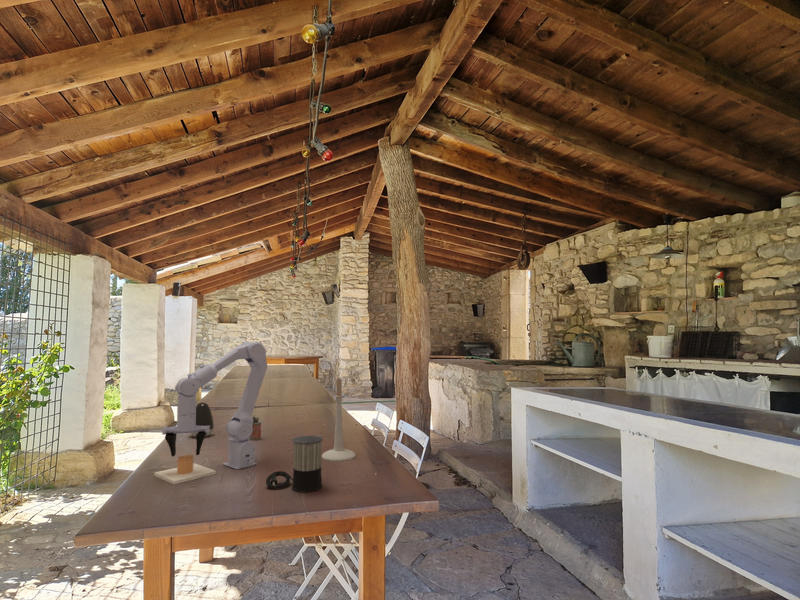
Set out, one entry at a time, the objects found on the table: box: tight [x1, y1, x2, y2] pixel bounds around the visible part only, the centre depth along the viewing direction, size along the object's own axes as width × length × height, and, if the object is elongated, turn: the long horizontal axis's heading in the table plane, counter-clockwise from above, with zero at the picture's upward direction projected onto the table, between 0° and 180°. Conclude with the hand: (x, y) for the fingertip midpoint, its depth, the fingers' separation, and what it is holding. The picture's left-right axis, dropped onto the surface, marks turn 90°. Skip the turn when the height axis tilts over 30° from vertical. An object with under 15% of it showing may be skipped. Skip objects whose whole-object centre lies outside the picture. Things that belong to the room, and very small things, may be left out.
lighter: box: [249, 415, 262, 441], centre depth 209 cm, size 8×3×10 cm, turn 84°
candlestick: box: [322, 377, 357, 462], centre depth 182 cm, size 13×13×30 cm
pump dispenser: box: [190, 402, 215, 438], centre depth 216 cm, size 10×10×15 cm
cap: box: [176, 454, 195, 474], centre depth 159 cm, size 5×5×5 cm
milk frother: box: [265, 435, 323, 493], centre depth 147 cm, size 14×16×15 cm
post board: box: [153, 463, 217, 485], centre depth 159 cm, size 14×14×5 cm
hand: (185, 455), depth 159 cm, fingers open, 7 cm apart
